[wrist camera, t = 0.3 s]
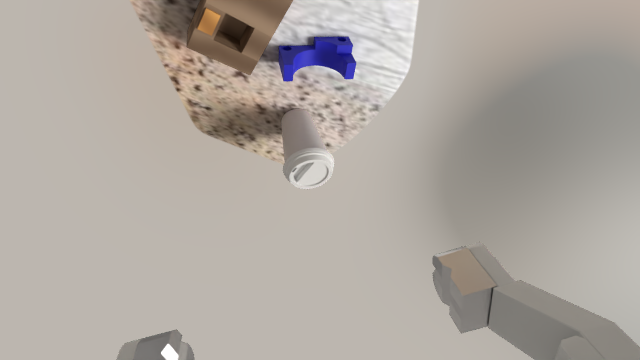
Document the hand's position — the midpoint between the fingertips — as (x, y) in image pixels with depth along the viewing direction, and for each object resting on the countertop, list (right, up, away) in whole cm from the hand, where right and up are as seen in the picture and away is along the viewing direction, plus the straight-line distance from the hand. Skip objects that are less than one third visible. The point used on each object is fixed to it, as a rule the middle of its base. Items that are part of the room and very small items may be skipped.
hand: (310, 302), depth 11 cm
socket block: (-10, +32, +38) cm, 51 cm away
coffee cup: (-5, +16, +60) cm, 62 cm away
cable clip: (-1, +27, +49) cm, 56 cm away
